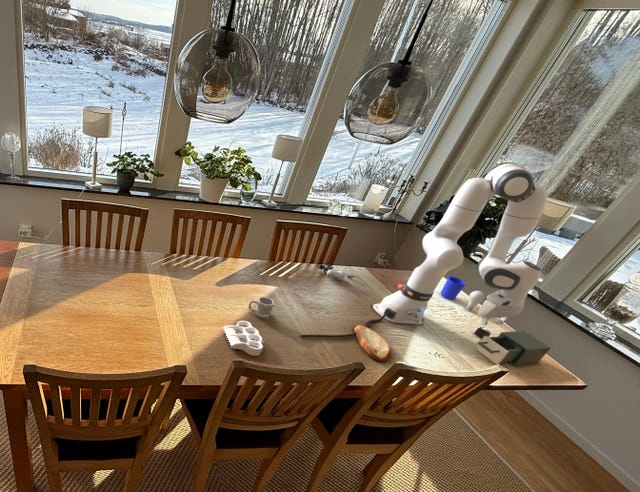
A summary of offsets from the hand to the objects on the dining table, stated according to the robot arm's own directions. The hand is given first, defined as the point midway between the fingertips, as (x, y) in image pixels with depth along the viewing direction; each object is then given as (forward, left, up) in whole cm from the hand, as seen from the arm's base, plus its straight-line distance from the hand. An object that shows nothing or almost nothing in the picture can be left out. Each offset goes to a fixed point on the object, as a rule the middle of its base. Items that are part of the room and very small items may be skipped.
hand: (490, 324), depth 177 cm
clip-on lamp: (-40, +55, -7) cm, 69 cm away
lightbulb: (+15, +20, -7) cm, 26 cm away
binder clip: (0, 0, -7) cm, 7 cm away
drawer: (-10, -13, -6) cm, 18 cm away
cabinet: (+3, -13, -7) cm, 15 cm away
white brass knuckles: (-116, +7, -7) cm, 117 cm away
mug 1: (-101, +25, -7) cm, 105 cm away
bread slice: (-62, 0, -7) cm, 63 cm away
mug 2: (+15, +34, -7) cm, 38 cm away
